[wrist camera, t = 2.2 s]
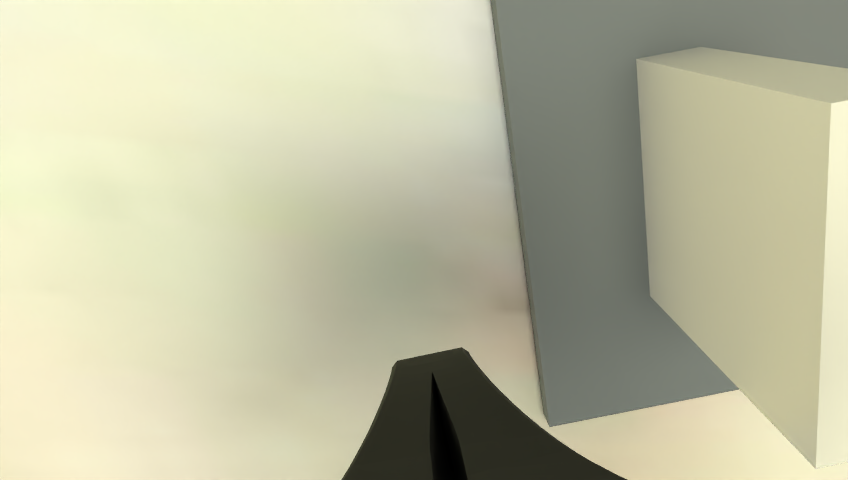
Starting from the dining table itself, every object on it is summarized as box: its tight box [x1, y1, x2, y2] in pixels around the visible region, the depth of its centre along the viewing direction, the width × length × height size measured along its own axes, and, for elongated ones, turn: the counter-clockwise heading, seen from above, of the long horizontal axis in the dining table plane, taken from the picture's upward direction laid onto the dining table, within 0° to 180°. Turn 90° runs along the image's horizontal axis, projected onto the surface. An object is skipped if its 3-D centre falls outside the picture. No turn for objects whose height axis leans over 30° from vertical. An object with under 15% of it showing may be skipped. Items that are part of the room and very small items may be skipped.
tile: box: [636, 47, 848, 469], centre depth 17 cm, size 8×2×9 cm, turn 10°
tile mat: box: [491, 0, 848, 427], centre depth 22 cm, size 17×16×1 cm
